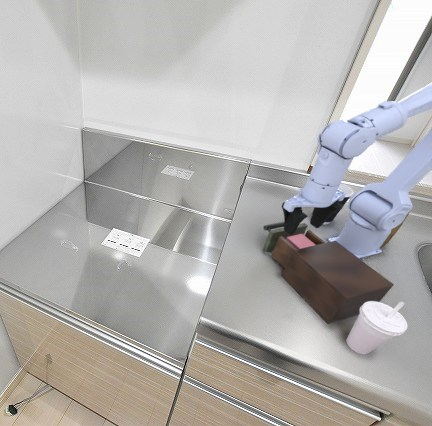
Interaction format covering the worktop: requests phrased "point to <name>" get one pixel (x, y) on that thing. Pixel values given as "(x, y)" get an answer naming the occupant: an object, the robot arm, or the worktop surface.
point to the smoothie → (375, 326)
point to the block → (299, 241)
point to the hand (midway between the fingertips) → (301, 228)
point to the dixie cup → (349, 193)
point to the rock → (393, 232)
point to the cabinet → (334, 280)
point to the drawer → (285, 241)
